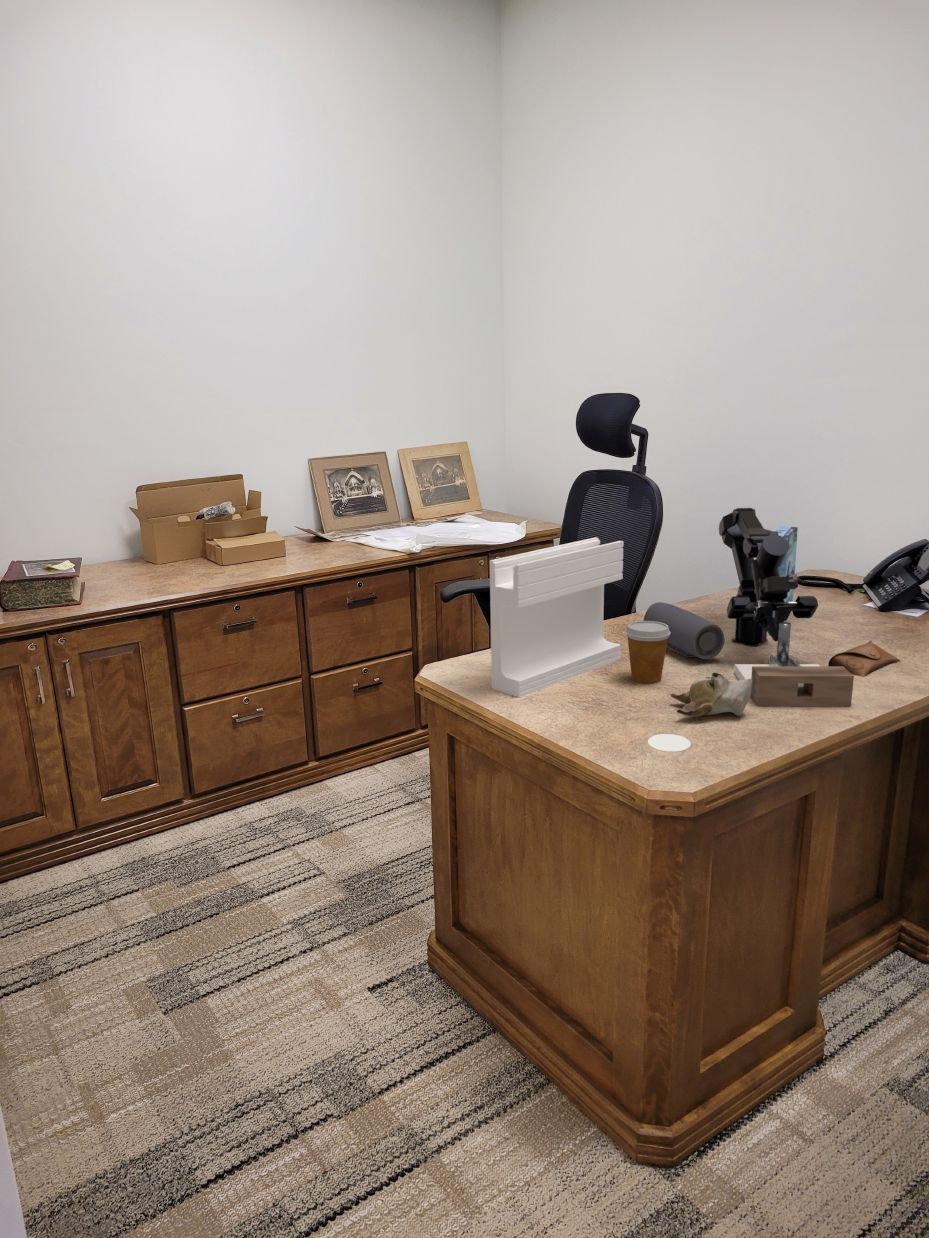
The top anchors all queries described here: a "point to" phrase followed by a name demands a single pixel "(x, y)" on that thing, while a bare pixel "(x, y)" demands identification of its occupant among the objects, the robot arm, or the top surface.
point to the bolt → (783, 643)
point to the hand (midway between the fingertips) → (777, 640)
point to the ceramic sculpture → (715, 696)
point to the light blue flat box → (788, 557)
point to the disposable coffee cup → (647, 650)
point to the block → (551, 614)
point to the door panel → (746, 669)
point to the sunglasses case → (863, 659)
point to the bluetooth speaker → (687, 631)
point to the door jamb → (817, 691)
